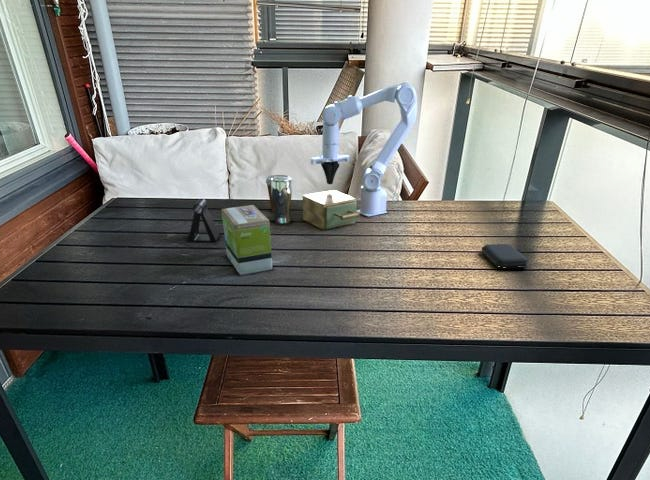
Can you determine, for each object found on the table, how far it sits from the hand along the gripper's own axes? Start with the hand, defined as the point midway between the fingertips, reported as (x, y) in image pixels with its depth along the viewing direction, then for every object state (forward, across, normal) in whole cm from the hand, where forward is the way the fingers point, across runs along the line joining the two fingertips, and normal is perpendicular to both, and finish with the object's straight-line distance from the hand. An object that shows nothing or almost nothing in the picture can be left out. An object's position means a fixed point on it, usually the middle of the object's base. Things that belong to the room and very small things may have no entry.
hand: (329, 183), depth 178 cm
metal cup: (+11, -16, +10) cm, 22 cm away
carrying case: (+10, +25, -66) cm, 71 cm away
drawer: (+9, -5, -14) cm, 18 cm away
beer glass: (+11, -20, -4) cm, 23 cm away
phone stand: (+11, -50, -8) cm, 52 cm away
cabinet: (+10, -5, -10) cm, 15 cm away
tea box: (+11, -44, -35) cm, 57 cm away
